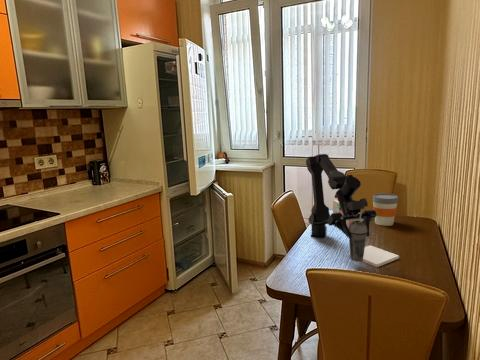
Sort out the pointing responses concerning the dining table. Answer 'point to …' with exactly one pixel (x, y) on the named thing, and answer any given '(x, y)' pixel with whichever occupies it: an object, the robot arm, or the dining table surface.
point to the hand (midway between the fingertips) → (359, 237)
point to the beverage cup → (357, 239)
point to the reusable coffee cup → (385, 208)
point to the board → (377, 256)
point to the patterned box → (337, 210)
